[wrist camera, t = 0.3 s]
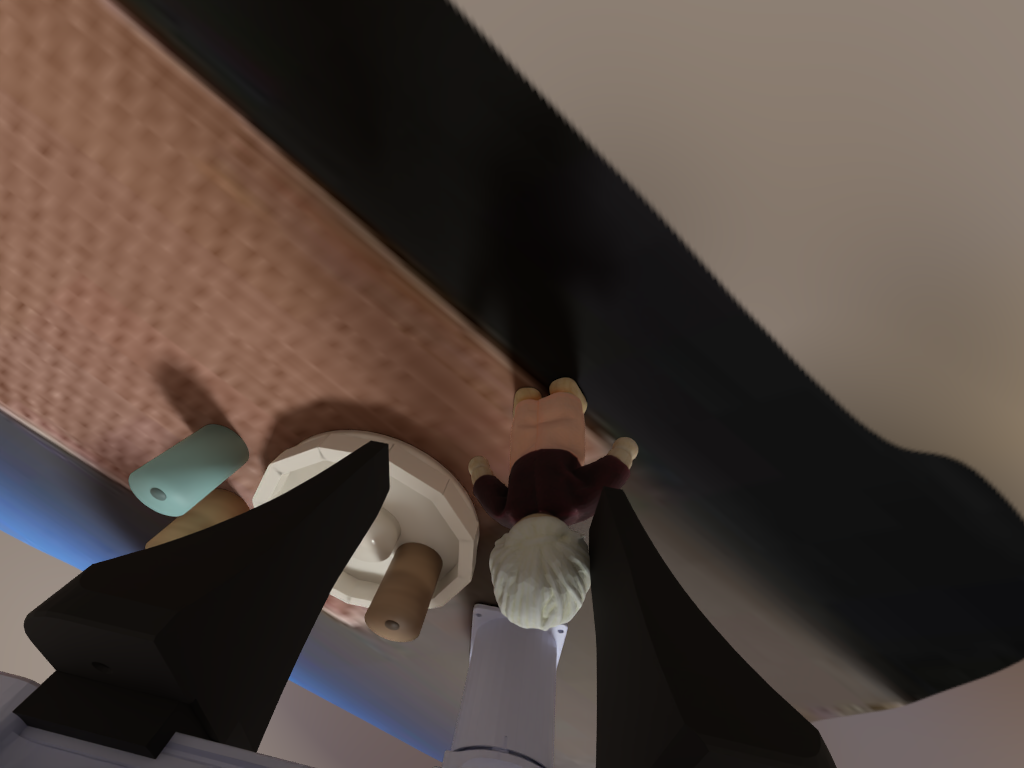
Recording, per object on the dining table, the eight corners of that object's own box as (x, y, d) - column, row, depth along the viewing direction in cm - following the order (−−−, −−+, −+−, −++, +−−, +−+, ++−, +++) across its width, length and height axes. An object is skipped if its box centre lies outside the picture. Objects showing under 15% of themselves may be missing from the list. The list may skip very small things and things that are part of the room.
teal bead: (254, 469, 28) (195, 521, 24) (208, 461, 29) (141, 511, 24) (241, 428, 27) (175, 476, 22) (192, 420, 27) (117, 465, 22)
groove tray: (474, 600, 32) (468, 627, 30) (298, 565, 33) (280, 589, 31) (485, 450, 24) (478, 473, 22) (257, 413, 26) (230, 432, 24)
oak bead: (255, 526, 32) (203, 581, 27) (213, 518, 32) (156, 571, 27) (244, 492, 30) (187, 545, 25) (200, 485, 30) (136, 536, 26)
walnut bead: (442, 579, 30) (420, 647, 25) (397, 570, 30) (367, 636, 26) (442, 547, 28) (418, 614, 24) (394, 538, 28) (361, 602, 24)
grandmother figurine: (515, 446, 24) (462, 669, 13) (485, 398, 23) (398, 600, 12) (632, 404, 21) (693, 639, 10) (606, 348, 20) (644, 546, 9)
